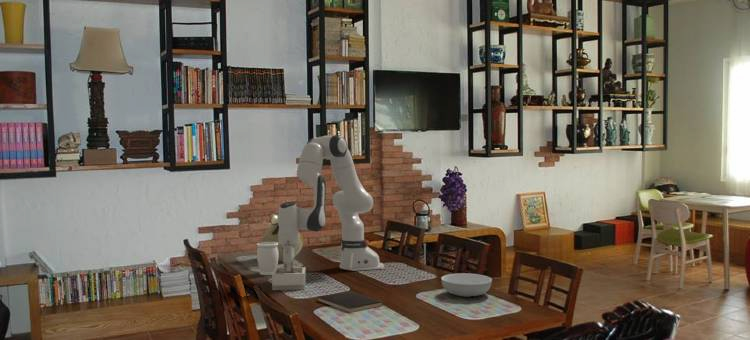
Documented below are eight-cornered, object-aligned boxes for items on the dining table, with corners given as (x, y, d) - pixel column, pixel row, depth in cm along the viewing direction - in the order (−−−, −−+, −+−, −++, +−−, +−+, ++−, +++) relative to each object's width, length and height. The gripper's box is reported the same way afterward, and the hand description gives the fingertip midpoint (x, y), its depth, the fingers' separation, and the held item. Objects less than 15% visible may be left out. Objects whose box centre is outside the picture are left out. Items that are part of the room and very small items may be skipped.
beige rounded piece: (282, 254, 372) (281, 210, 370) (313, 258, 358) (312, 213, 356) (253, 261, 354) (252, 215, 352) (285, 265, 340) (284, 218, 338)
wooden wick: (293, 277, 293) (293, 255, 293) (293, 278, 291) (293, 256, 291) (284, 277, 293) (284, 255, 292) (284, 278, 291) (283, 256, 290)
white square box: (305, 282, 300) (305, 267, 299) (304, 289, 286) (304, 273, 285) (274, 283, 299) (274, 267, 298) (272, 290, 285) (271, 274, 285)
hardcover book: (349, 314, 247) (349, 308, 247) (317, 302, 266) (317, 296, 266) (383, 307, 257) (383, 301, 257) (349, 296, 275) (349, 290, 275)
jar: (274, 276, 313) (273, 245, 312) (254, 275, 315) (253, 244, 314) (281, 271, 324) (281, 241, 323) (262, 271, 326) (261, 241, 325)
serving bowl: (460, 303, 259) (460, 286, 259) (431, 292, 278) (431, 276, 277) (502, 296, 269) (502, 280, 268) (472, 286, 287) (471, 271, 287)
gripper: (294, 242, 281) (294, 274, 282) (296, 235, 302) (297, 265, 302) (279, 243, 281) (280, 275, 281) (282, 236, 301) (283, 265, 302)
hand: (289, 270), depth 292 cm, fingers closed on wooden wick, 2 cm apart
